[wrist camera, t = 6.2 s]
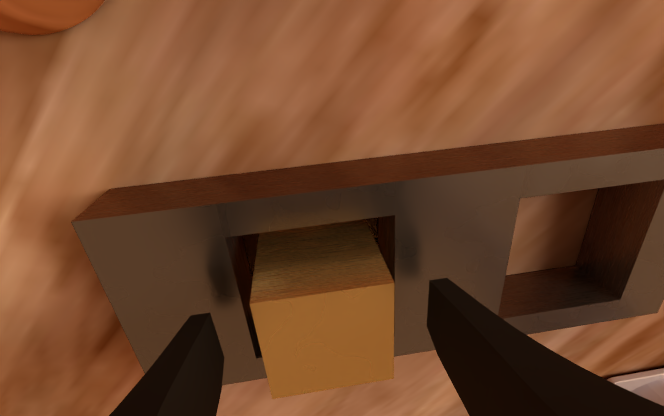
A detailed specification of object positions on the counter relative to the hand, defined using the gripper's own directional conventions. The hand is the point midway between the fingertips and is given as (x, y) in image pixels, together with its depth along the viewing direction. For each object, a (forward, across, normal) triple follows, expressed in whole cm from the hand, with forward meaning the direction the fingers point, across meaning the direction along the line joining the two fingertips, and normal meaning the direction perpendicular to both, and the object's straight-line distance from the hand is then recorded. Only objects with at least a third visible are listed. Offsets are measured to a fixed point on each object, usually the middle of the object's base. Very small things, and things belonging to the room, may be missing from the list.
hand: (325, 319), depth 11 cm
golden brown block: (+4, 0, 0) cm, 4 cm away
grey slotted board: (+4, -4, 0) cm, 5 cm away
